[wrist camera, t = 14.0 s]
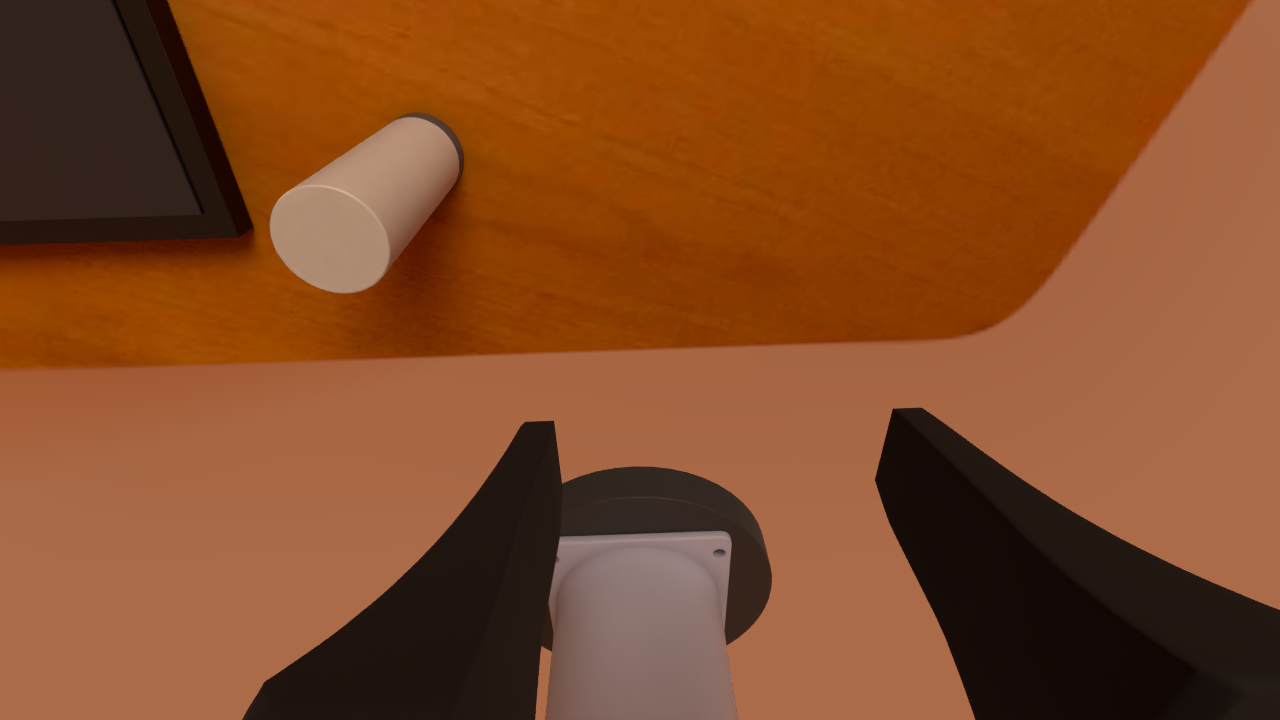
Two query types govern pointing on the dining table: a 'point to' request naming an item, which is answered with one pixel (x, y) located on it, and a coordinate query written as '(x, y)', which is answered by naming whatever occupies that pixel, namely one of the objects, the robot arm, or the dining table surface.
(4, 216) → the tablet
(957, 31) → the dining table surface
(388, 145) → the beige cylinder
